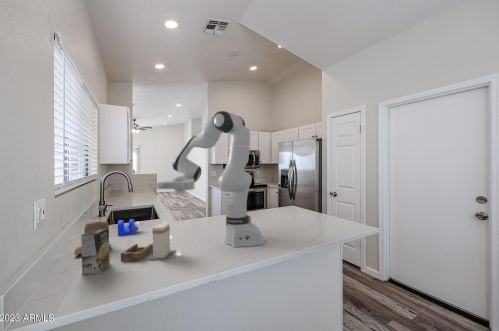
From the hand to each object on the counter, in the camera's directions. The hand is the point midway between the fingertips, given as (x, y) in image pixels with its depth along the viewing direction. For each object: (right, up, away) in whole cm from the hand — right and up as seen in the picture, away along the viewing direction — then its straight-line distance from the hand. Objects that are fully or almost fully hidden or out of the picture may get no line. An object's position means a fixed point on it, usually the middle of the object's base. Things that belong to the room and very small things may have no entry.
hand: (170, 186), depth 120 cm
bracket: (-38, -33, +30) cm, 59 cm away
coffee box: (-23, -33, -24) cm, 47 cm away
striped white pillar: (0, -32, -12) cm, 34 cm away
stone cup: (-39, -33, -3) cm, 51 cm away
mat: (0, -32, -12) cm, 34 cm away
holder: (-12, -32, -11) cm, 36 cm away
